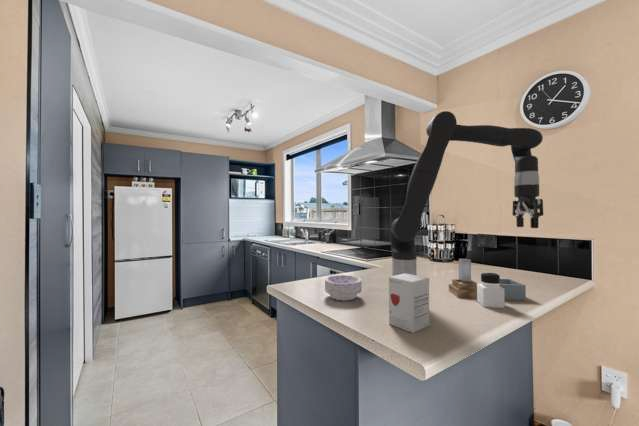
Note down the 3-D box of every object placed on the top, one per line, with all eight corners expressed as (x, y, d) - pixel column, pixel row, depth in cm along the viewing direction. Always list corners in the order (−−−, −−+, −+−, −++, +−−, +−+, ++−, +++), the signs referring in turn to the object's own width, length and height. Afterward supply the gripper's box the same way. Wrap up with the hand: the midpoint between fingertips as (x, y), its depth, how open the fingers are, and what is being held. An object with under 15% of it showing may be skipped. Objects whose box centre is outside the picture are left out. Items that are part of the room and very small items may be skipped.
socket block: (457, 297, 115) (457, 284, 115) (448, 290, 125) (448, 278, 125) (482, 297, 114) (482, 284, 114) (472, 291, 124) (472, 279, 124)
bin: (496, 299, 112) (496, 284, 112) (483, 291, 123) (483, 278, 123) (525, 300, 111) (525, 285, 111) (510, 292, 122) (509, 278, 122)
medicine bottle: (505, 308, 101) (504, 275, 101) (483, 307, 103) (483, 274, 103) (496, 302, 108) (496, 271, 108) (476, 301, 110) (476, 271, 110)
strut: (461, 288, 117) (461, 260, 118) (457, 285, 122) (456, 258, 122) (473, 288, 117) (473, 260, 117) (468, 285, 122) (468, 258, 122)
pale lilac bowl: (338, 305, 105) (338, 284, 105) (318, 296, 118) (318, 277, 118) (369, 299, 113) (369, 280, 113) (347, 290, 126) (347, 273, 126)
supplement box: (387, 324, 87) (387, 276, 87) (405, 317, 93) (404, 272, 93) (413, 333, 80) (412, 281, 80) (430, 326, 85) (429, 277, 86)
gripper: (505, 186, 112) (505, 226, 112) (527, 182, 98) (528, 228, 98) (525, 186, 111) (525, 226, 111) (550, 182, 97) (551, 228, 97)
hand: (527, 227), depth 104 cm, fingers open, 8 cm apart
